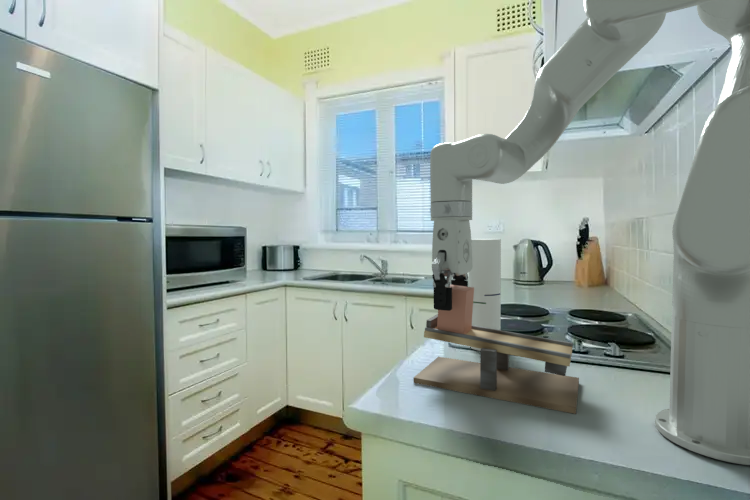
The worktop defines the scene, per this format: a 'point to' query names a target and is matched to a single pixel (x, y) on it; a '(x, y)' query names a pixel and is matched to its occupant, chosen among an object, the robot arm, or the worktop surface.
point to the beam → (509, 344)
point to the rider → (458, 311)
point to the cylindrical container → (486, 283)
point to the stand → (502, 381)
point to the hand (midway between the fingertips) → (451, 304)
